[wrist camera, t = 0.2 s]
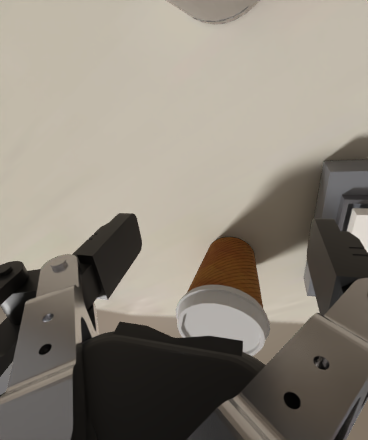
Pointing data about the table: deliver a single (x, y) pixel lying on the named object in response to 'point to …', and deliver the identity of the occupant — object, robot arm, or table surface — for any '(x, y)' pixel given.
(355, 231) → the paddle
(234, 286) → the disposable coffee cup
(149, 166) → the table surface
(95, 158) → the table surface
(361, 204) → the panel
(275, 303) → the table surface
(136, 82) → the table surface
